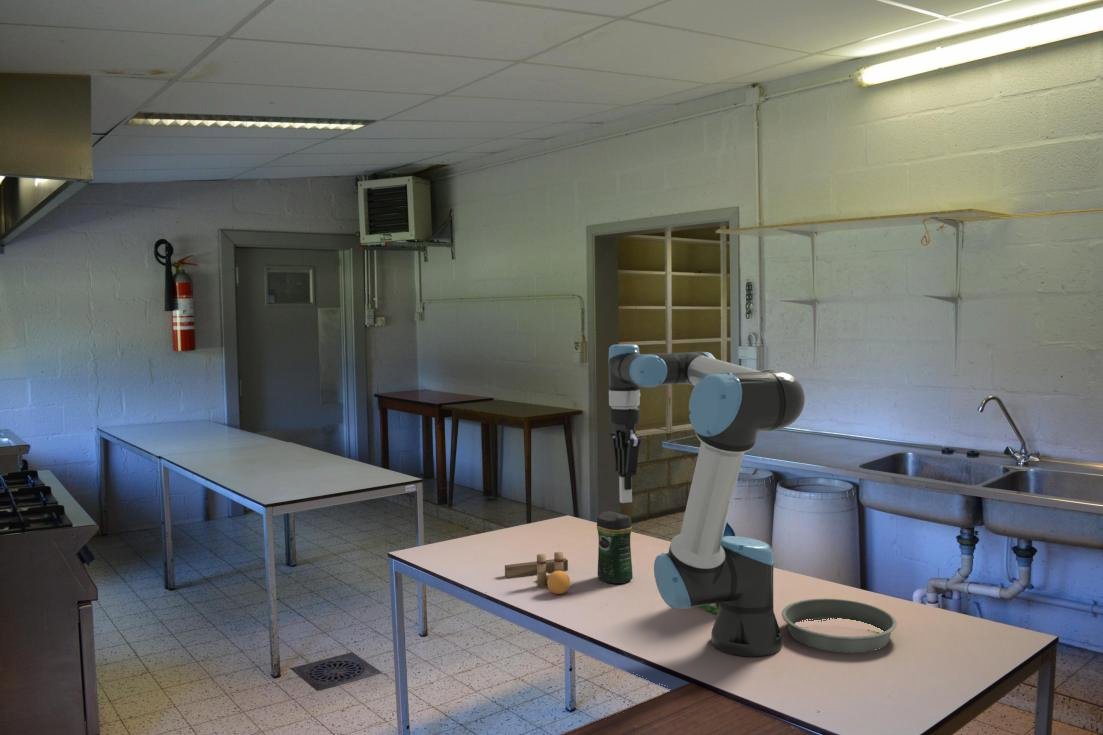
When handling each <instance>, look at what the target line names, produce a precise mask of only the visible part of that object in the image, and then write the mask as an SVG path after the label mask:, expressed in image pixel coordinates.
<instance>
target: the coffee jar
mask: <svg viewBox="0 0 1103 735" xmlns="http://www.w3.org/2000/svg"><path fill="white" fill-rule="evenodd" d="M632 529H633V526H632V517H631V516H629V515H628V514H627V515H626V514H622V513H618V512H614V511H612V510H609V511H603V512H600V513H599V514H598V515H597V518H596V530H597V534H598V535H597V536H598V550H597V551H598V553H597V554H598V555H597V558H598V559H597V578H598V579H600V580H602V581H604V582H606V583H611V584H626V583H628V582H630V581H632V579H633V564H632V549H631V534H632Z"/></svg>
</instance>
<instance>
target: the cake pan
mask: <svg viewBox="0 0 1103 735" xmlns="http://www.w3.org/2000/svg"><path fill="white" fill-rule="evenodd" d="M781 616H782V619H783V620H784V622H785V623H787V628H788V631H789V634H790V633H791V634H790V635H791V636H793V637H794V639H795V640H796V639H797V640H796V641H798V642H799V641H800V642H799V643H801V642H802V644H803V643H804V645H806V646H808V645H809V646H808V647H811V646H812V648H814V647H815V649H818V650H822V649H823V651H827V650H828V652H833V651H836V652H835V653H842V652H862V653H868V652H867V651H870V652H873V651H872V650H875V649H878V650H880V649H879V648H881V649H883V648H884V646H885V645H886V644H887V643H889V642H890V637H891V634H892V632H894V631H895V630H896V628H897V625H898V623H897V619H896V617H894V616H893V614H891V613H890V612H888V611H886V610H884V609H882V608H880V607H877V606H875V605H872V604H867V603H866V602H865V603H864V602H860V601H855V600H848V599H842V598H825V597H824V598H810V599H809V598H808V599H803V600H799V601H798V600H797V601H794V602H792V603H790V604H788V605H786V606H784V608H783V609H782V610H781ZM828 618H829V620H830V618H832V619H833V618H834V619H837V618H842V619H850V620H856V621H861V622H864V623H867V624H871V625H873V626H875V627H877V628H880V629H881V630H883V631H884V632H882V633H876V634H870V635H869V634H868V635H859V636H858V635H855V636H854V635H853V636H847V635H836V634H835V635H834V634H828V633H827V634H826V633H821V632H817V631H814V630H813V631H812V630H810V629H808V628H805V627H799V626H797V625H795V623H796V622H800V621H801V622H802V620H803V622H804V620H806V619H808V621H814V620H821V622H822V619H826V620H827V619H828ZM809 619H811V620H809ZM812 619H813V620H812ZM826 620H823V621H826ZM806 621H807V620H806ZM818 622H819V621H818ZM793 637H792V638H793ZM887 645H888V644H887ZM887 645H886V646H887ZM886 646H885V647H886ZM882 647H883V648H882ZM875 651H876V650H875Z"/></svg>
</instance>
